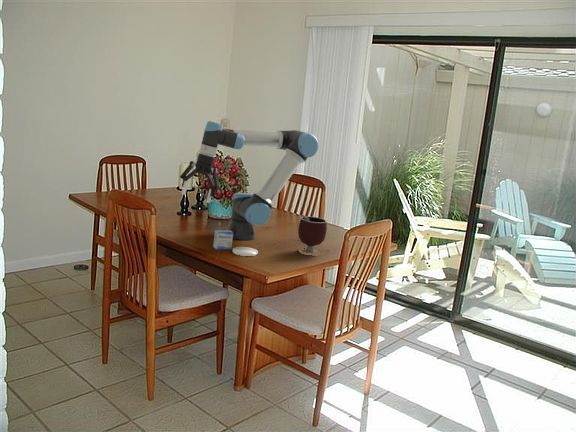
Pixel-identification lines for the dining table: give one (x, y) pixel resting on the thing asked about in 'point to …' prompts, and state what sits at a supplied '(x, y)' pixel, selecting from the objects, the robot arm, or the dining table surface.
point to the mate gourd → (312, 232)
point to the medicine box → (223, 239)
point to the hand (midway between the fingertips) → (195, 198)
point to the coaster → (245, 251)
